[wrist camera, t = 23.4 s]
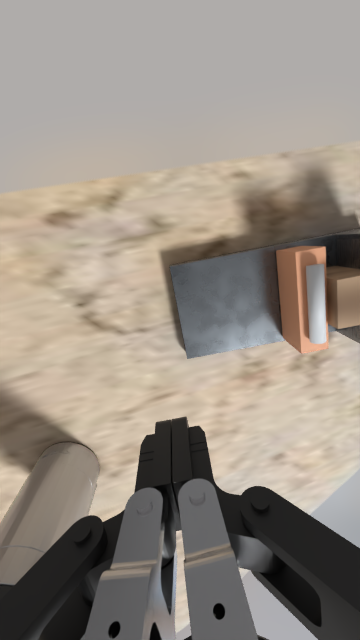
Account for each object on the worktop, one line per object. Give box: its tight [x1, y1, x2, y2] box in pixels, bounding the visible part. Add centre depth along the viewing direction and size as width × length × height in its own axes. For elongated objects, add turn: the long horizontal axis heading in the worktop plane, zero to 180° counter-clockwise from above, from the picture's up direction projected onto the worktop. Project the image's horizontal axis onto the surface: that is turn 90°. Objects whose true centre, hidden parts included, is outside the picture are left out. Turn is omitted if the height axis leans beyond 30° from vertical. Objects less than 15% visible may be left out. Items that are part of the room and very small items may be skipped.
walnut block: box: [326, 266, 360, 329], centre depth 29 cm, size 5×4×7 cm
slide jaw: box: [276, 246, 328, 354], centre depth 29 cm, size 11×3×6 cm, turn 11°
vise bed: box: [169, 228, 360, 359], centre depth 31 cm, size 12×24×8 cm, turn 101°
